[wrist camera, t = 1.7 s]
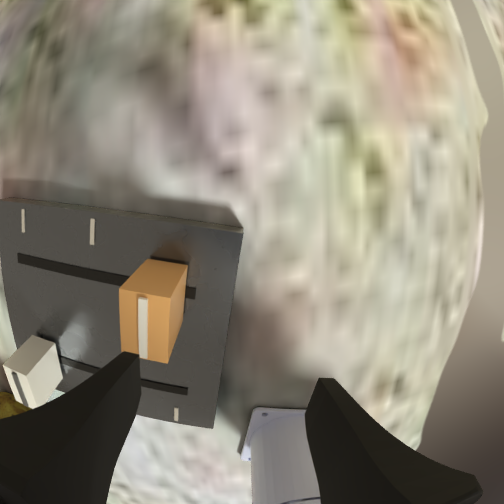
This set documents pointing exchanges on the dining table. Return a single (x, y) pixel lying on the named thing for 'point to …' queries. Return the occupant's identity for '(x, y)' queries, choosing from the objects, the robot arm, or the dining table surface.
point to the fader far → (33, 371)
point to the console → (107, 295)
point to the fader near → (152, 309)
